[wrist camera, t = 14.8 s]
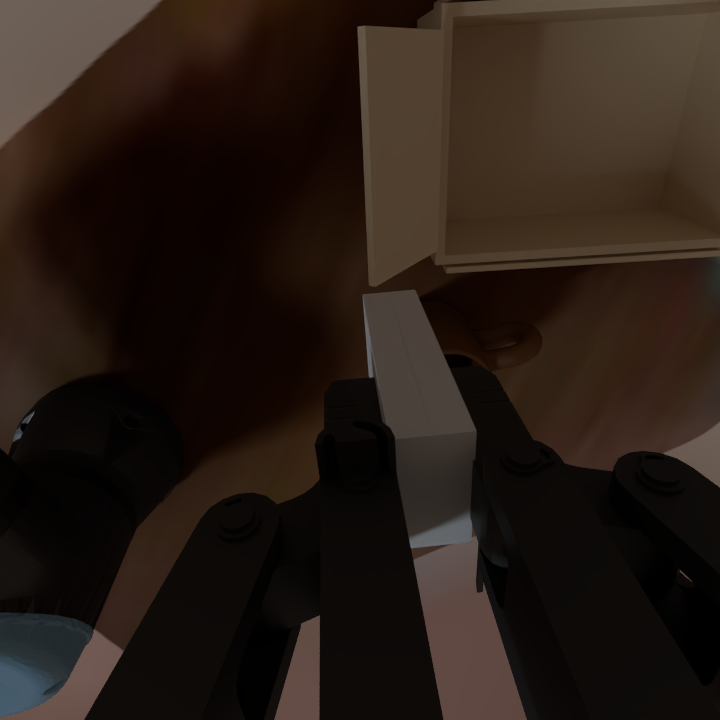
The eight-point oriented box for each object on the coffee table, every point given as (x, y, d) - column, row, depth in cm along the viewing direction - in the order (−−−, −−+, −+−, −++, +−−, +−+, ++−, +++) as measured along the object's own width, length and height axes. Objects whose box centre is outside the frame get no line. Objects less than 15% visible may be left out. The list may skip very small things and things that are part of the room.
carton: (415, 236, 41) (435, 275, 33) (417, 7, 33) (442, -14, 25) (658, 221, 41) (734, 256, 33) (715, -10, 33) (832, -36, 25)
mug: (498, 260, 42) (537, 304, 34) (524, 331, 46) (565, 387, 37) (370, 319, 44) (378, 374, 36) (404, 383, 48) (418, 446, 40)
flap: (365, 25, 21) (357, 26, 21) (375, 287, 26) (369, 285, 27) (444, 30, 26) (437, 30, 26) (438, 250, 31) (432, 249, 32)
